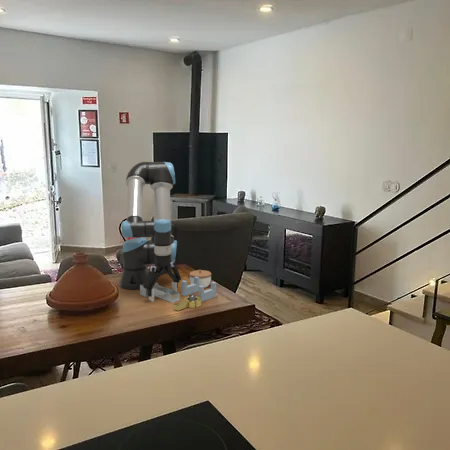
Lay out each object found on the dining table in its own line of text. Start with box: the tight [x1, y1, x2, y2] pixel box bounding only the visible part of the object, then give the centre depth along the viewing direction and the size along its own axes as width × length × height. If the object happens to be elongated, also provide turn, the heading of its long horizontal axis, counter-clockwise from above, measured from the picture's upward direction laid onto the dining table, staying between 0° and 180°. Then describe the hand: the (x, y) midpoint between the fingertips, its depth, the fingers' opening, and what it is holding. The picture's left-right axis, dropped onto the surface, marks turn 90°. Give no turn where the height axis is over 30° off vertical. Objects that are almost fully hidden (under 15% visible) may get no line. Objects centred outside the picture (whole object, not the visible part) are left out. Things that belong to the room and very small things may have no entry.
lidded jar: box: [189, 269, 212, 289], centre depth 216 cm, size 11×11×9 cm
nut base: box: [188, 293, 197, 301], centre depth 191 cm, size 9×9×6 cm
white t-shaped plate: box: [139, 282, 181, 304], centre depth 202 cm, size 21×7×5 cm, turn 47°
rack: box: [181, 277, 217, 303], centre depth 202 cm, size 15×10×8 cm, turn 48°
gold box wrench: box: [173, 295, 202, 311], centre depth 189 cm, size 13×8×3 cm, turn 138°
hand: (163, 299), depth 201 cm, fingers open, 13 cm apart
